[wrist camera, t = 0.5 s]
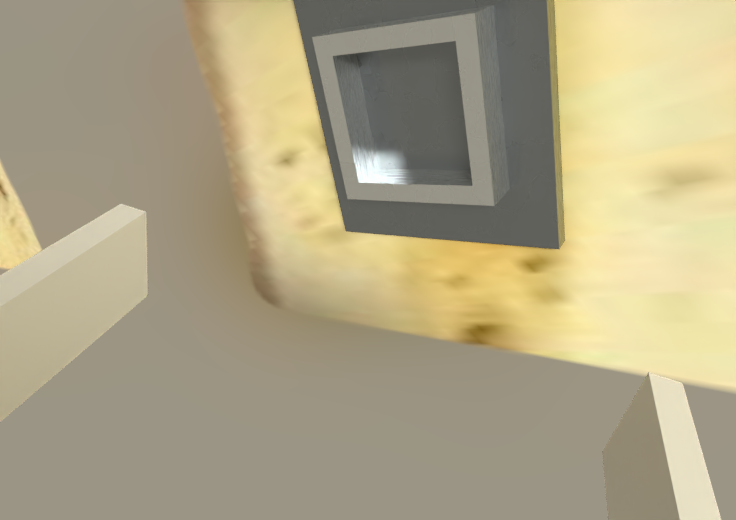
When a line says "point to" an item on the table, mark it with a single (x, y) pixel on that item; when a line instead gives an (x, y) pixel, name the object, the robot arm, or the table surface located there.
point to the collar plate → (440, 116)
